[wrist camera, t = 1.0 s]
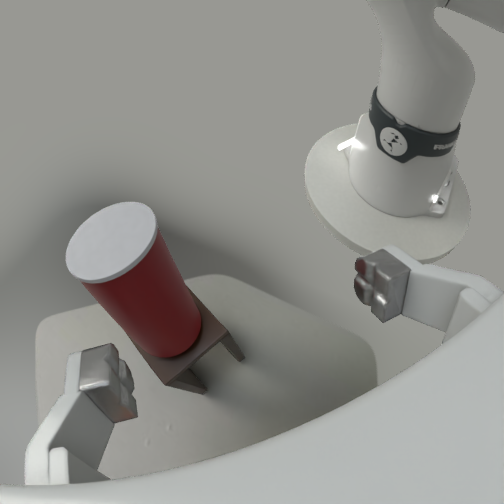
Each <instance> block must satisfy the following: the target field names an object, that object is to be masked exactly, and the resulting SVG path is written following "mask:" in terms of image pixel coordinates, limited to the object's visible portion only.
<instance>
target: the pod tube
mask: <svg viewBox="0 0 504 504" xmlns="http://www.w3.org/2000/svg"><path fill="white" fill-rule="evenodd" d="M66 264H67V267H68V269H69V271H70V272H71V273H72V275H73V276H74V277H75V278H77V279H78V280H80V281H81V282H82V284H83V285H84V286H85V287H86V289H87V290H88V291H89V292H90V293H91V294H92V296H93V297H94V298H95V299H96V300H97V301H98V302H99V304H100V305H101V306H102V307H103V308H104V309H105V310H106V311H107V312H108V314H109V315H110V316H111V317H112V318H113V319H114V320H115V321H116V322H117V323H118V324H119V325H120V326H121V327H122V328H123V330H124V331H125V332H126V333H127V334H128V335H129V336H130V337H131V338H132V339H133V340H134V341H135V342H136V343H137V344H138V345H139V346H140V347H141V348H142V349H143V350H144V351H146V352H147V353H148V354H150V355H153V356H156V357H172V356H176V355H178V354H180V353H182V352H184V351H185V350H187V349H188V348H189V347H190V346H191V345H192V344H193V343H194V341H195V340H196V338H197V336H198V334H199V332H200V328H201V316H200V312H199V310H198V308H197V306H196V304H195V302H194V300H193V298H192V296H191V294H190V292H189V290H188V288H187V286H186V285H185V283H184V281H183V279H182V276H181V274H180V272H179V270H178V268H177V266H176V264H175V262H174V261H173V258H172V256H171V254H170V252H169V250H168V248H167V246H166V243H165V241H164V239H163V237H162V235H161V233H160V230H159V228H158V224H157V220H156V217H155V215H154V213H153V211H152V210H151V209H150V208H149V207H148V206H146V205H144V204H142V203H137V202H123V203H118V204H114V205H111V206H108V207H106V208H104V209H102V210H100V211H98V212H97V213H95V214H94V215H92V216H91V217H90V218H89V219H87V220H86V221H85V222H84V223H83V224H82V225H81V226H80V227H79V228H78V230H77V231H76V232H75V233H74V235H73V237H72V238H71V240H70V242H69V245H68V248H67V251H66Z"/></svg>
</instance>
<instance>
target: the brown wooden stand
mask: <svg viewBox="0 0 504 504" xmlns="http://www.w3.org/2000/svg"><path fill="white" fill-rule="evenodd" d="M187 288H188V287H187ZM188 290H189V292H190V294H191V296H192V298H193V300H194V302H195V304H196V306H197V308H198V310H199V312H200V316H201V328H200V332H199V334H198V336H197V338H196V340H195V341H194V343H193V344H192V345H191V346H190V347H189V348H188V349H187V350H185V351H184V352H182V353H180V354H178V355H176V356H172V357H156V356H153V355H150V354H148V353H147V352H146V351H144V350H143V349H142V348H141V347H140V346H139V345H138V344H137V343H136V342H135V341H134V340H133V339H132V338H131V337H130V336H129V335H128V334H127V333H126V334H127V335H128V337H129V338H130V339H131V341H132V342H133V344H134V345H135V347H136V348H137V349H138V351H139V352H140V354H141V355H142V356H143V358H144V359H145V360H146V362H147V363H148V364H149V366H150V367H151V368H152V370H153V371H154V372H155V374H156V375H157V376H158V378H159V379H160V380H161V381H162V383H163V384H164V385H166V386H170V387H174V388H178V389H182V390H186V391H190V392H194V393H198V394H203V393H205V392H206V391H207V388H206V387H205V386H204V385H203V384H202V383H201V382H200V381H199V379H198V378H197V377H196V376H195V375H194V374H193V372H192V371H191V370H190V369H189V367H190V366H192V365H193V364H194V363H195V362H196V361H197V360H198V359H200V358H201V357H202V356H203V355H204V354H205V353H207V352H208V351H209V350H210V349H211V348H212V347H213V346H214V345H216V344H217V343H218V342H219V341H220V342H221V343H222V344H223V345H224V346H225V347H226V349H227V350H228V351H229V352H230V353H231V354H232V355H233V356H234V357H235V358H236V359H237V360H238V361H239V362H240V361H241V360H242V359H243V358H245V356H244V355H243V353H242V352H241V350H240V349H239V347H238V346H237V344H236V343H235V341H234V340H233V338H232V336H231V335H230V333H229V332H228V330H227V329H226V328H225V327H224V326H223V325H222V324H221V323H220V322H219V321H218V320H217V319H216V317H215V316H214V315H213V314H212V313H211V312H210V311H209V310H208V309H207V308H206V307H205V306H204V304H203V303H202V302H201V301H200V300H199V299H198V298H197V297H196V296H195V295H194V293H193V292H192V291H191V290H190V289H189V288H188Z"/></svg>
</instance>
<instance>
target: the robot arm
mask: <svg viewBox="0 0 504 504" xmlns="http://www.w3.org/2000/svg"><path fill="white" fill-rule="evenodd" d="M366 1H367V2H368V4H369V5H370V7H371V9H372V10H373V12H374V15H375V17H376V19H377V22H378V25H379V29H380V33H381V42H382V50H381V51H382V52H381V66H380V74H379V81H378V86H377V87H376V88H375V90H374V92H373V95H372V97H371V100H370V109H369V112H367V113H365V114H363V115H361V117H360V119H359V122H358V126H357V129H356V133H355V136H354V138H352V139H350V140H348V141H346V142H344V143H342V144H340V145H339V147H338V149H339V150H341V149H343V148H344V154H345V156H346V158H347V159H348V161H349V177H350V181H351V183H352V185H353V187H354V189H355V190H356V192H357V193H358V194H359V195H360V196H361V197H362V198H363V199H364V200H365V201H366V202H367V203H368V204H370V205H371V206H373V207H374V208H376V209H378V210H380V211H382V212H384V213H387V214H390V215H393V216H398V217H416V216H422V215H426V216H430V217H435V218H441V217H443V215H444V213H445V211H446V208H447V205H448V201H449V198H450V194H451V190H452V187H453V183H454V179H455V175H456V171H457V167H458V159H457V158H456V156H455V155H454V151H455V145H456V140H457V138H458V135H459V130H460V120H461V117H462V115H463V112H464V109H465V107H466V104H467V102H468V99H469V96H470V94H471V91H472V88H473V85H474V82H475V72H474V67H473V64H472V62H471V60H470V58H469V56H468V55H467V53H466V52H465V51H464V50H463V48H462V47H461V46H460V45H459V44H458V43H457V42H456V41H455V40H454V39H453V38H451V36H449V35H448V34H447V33H446V32H445V31H444V30H443V29H442V28H441V27H440V26H439V25H438V24H437V23H436V21H435V19H434V9H435V8H436V7H442V8H443V7H445V8H448V9H450V10H453V11H456V12H458V13H461V14H463V15H465V16H468V17H470V18H472V19H474V20H477V21H479V22H481V23H483V24H485V25H487V26H489V27H492V28H494V29H495V30H497V31H499V32H502V33H504V0H366ZM439 204H440V205H439ZM355 270H356V271H357V272H358V274H357V276H356V278H355V279H354V289H355V292H356V295H357V297H358V298H359V299H360V301H361V302H362V303H363V304H365V305H368V306H371V312H372V313H373V314H374V315H375V316H376V317H377V318H378V319H379V320H380V321H381V322H382V323H384V322H386V321H388V320H390V319H392V318H394V317H396V316H398V315H400V314H402V315H403V316H406V317H409V318H411V319H413V320H416V321H419V322H421V323H423V324H426V325H429V326H431V327H434V328H436V329H438V330H441V331H444V332H446V334H445V336H444V339H443V342H442V345H440V346H439V347H438V348H436V349H435V350H433V351H432V352H431V353H429V354H428V355H426V356H425V357H423V358H422V359H421V360H419V361H417V362H416V363H414V364H413V365H412V366H410V367H409V368H407V369H405V370H404V371H402V372H400V373H399V374H397V375H396V376H394V377H392V378H391V379H389V380H387V381H386V382H384V383H382V384H381V385H379V386H377V387H376V388H374V389H372V390H370V391H368V392H367V393H365V394H363V395H361V396H359V397H358V398H356V399H354V400H352V401H350V402H348V403H346V404H344V405H342V406H340V407H339V408H337V409H335V410H333V411H331V412H328V413H326V414H324V415H322V416H320V417H318V418H316V419H314V420H312V421H309V422H307V423H305V424H303V425H300V426H298V427H296V428H294V429H291V430H289V431H287V432H284V433H282V434H279V435H277V436H274V437H272V438H269V439H267V440H264V441H261V442H259V443H256V444H253V445H250V446H248V447H245V448H242V449H239V450H236V451H233V452H230V453H227V454H224V455H220V456H217V457H214V458H211V459H207V460H204V461H200V462H196V463H193V464H189V465H185V466H181V467H177V468H173V469H168V470H164V471H159V472H155V473H150V474H145V475H139V476H134V477H128V478H121V479H114V480H111V479H109V478H108V477H106V476H105V475H103V474H102V473H100V472H98V471H97V469H98V467H99V464H100V461H101V459H102V456H103V453H104V451H105V448H106V446H107V443H108V440H109V438H110V435H111V433H112V430H113V428H114V425H115V424H114V423H118V422H122V421H125V420H129V419H133V418H137V417H138V413H137V405H136V399H135V398H134V397H133V396H132V392H133V390H134V381H133V378H132V374H131V372H130V369H129V367H128V365H127V364H126V362H125V361H124V360H122V359H120V358H119V353H118V350H117V349H116V347H115V346H114V344H112V343H109V344H105V345H102V346H98V347H94V348H90V349H86V350H83V351H79V352H75V353H71V354H70V355H69V356H68V359H67V367H66V376H65V387H64V395H60V396H59V398H58V399H57V401H56V402H55V404H54V405H53V407H52V409H51V410H50V412H49V413H48V415H47V416H46V418H45V419H44V421H43V422H42V424H41V426H40V427H39V429H38V430H37V432H36V434H35V435H34V437H33V438H32V440H31V442H30V443H29V445H28V446H27V448H26V453H25V485H8V484H0V504H504V292H503V291H502V290H501V289H499V288H498V287H497V286H495V285H494V284H492V283H491V282H490V281H488V280H487V279H485V278H484V277H483V276H481V275H477V274H472V273H467V272H463V271H459V270H454V269H450V268H445V267H440V266H436V265H431V264H424V265H423V264H421V263H420V262H419V261H417V260H416V259H414V258H413V257H411V256H410V255H409V254H407V253H406V252H404V251H403V250H401V249H400V248H398V247H397V246H396V245H392V244H390V245H388V246H385V247H383V248H381V249H379V250H377V251H374V252H372V253H369V254H367V255H364V256H362V257H359V258H357V260H356V262H355Z"/></svg>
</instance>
